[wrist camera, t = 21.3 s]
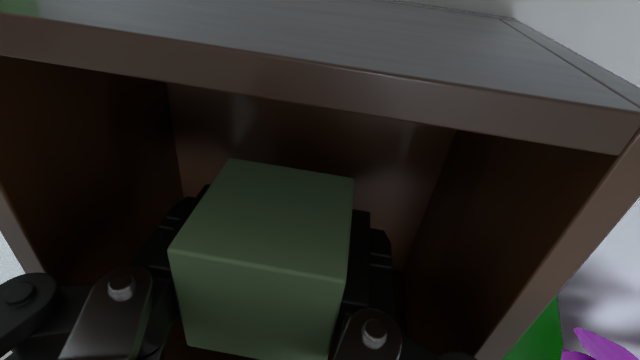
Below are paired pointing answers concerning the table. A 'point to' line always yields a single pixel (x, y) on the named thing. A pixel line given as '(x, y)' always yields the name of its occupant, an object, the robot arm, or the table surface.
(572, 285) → the table surface
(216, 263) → the block
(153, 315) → the robot arm
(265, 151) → the chest
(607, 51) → the table surface
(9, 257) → the table surface
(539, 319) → the potted plant
